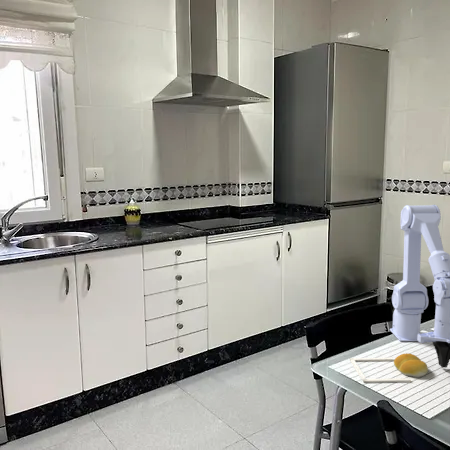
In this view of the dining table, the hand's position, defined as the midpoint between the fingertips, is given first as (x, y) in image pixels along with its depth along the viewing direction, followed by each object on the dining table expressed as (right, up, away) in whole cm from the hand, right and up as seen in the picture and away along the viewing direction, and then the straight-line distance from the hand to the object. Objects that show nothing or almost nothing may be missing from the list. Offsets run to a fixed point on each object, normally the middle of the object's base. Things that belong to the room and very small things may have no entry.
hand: (442, 365), depth 127 cm
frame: (-18, -1, 0) cm, 18 cm away
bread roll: (-9, -2, 0) cm, 9 cm away
